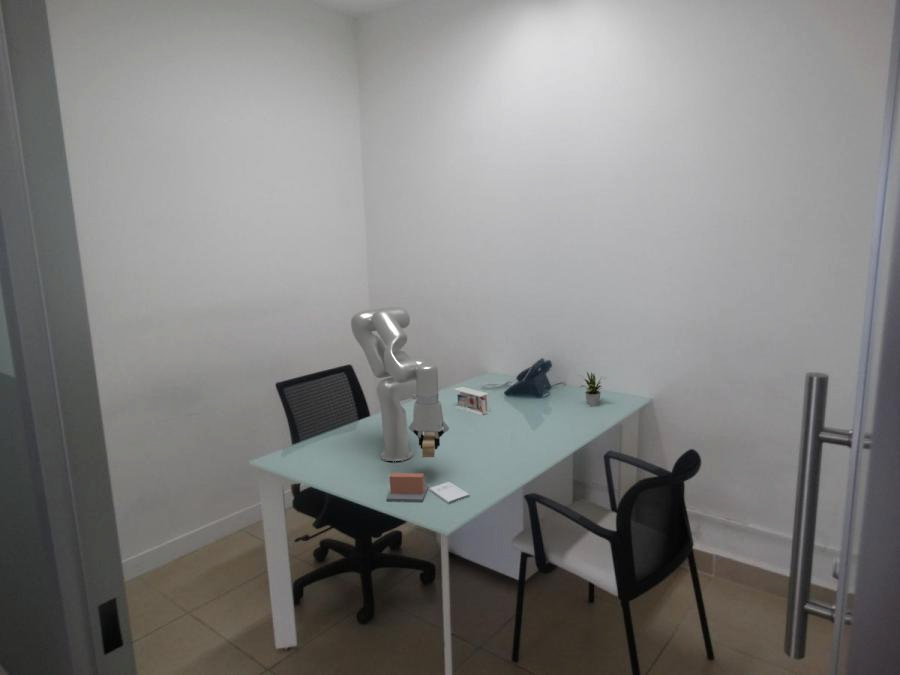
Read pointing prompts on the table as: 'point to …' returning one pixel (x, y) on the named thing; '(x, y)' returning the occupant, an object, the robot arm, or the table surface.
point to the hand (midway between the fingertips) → (429, 447)
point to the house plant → (592, 391)
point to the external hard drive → (449, 492)
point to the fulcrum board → (408, 496)
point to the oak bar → (428, 444)
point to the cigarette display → (473, 400)
